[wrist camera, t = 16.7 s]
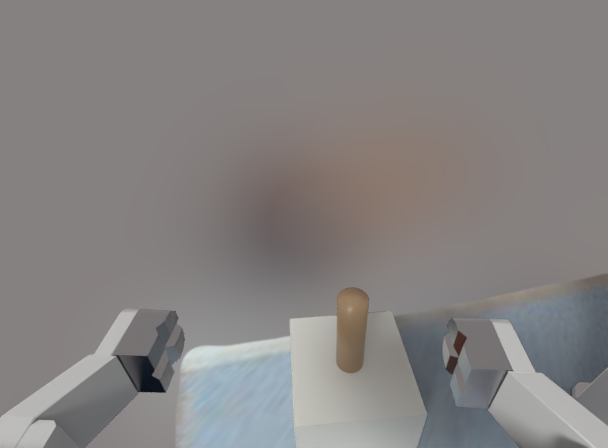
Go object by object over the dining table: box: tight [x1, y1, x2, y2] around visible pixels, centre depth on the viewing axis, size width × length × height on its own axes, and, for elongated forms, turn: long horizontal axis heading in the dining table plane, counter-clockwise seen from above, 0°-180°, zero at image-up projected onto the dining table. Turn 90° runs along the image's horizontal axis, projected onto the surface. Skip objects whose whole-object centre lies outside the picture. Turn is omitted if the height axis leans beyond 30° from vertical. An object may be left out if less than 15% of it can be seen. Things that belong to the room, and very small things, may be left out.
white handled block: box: [290, 288, 427, 448], centre depth 40 cm, size 13×13×21 cm
